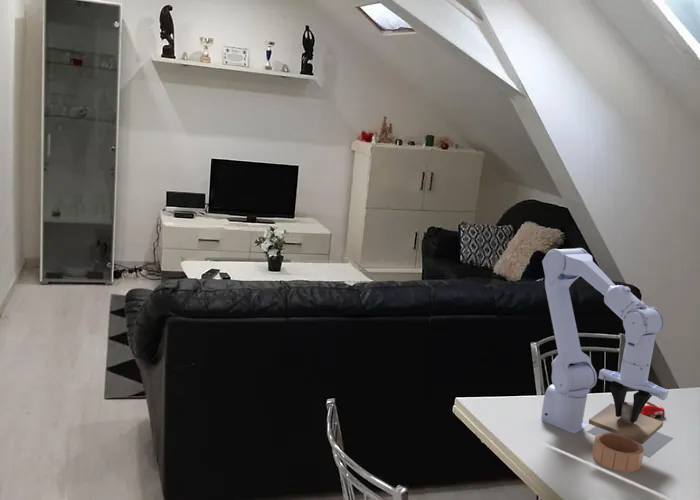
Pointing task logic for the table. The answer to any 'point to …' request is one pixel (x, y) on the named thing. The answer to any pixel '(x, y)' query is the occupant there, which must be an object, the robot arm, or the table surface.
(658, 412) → the race car
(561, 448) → the table surface
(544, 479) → the table surface
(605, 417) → the cover board
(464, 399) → the table surface
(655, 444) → the mat
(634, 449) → the bowl
